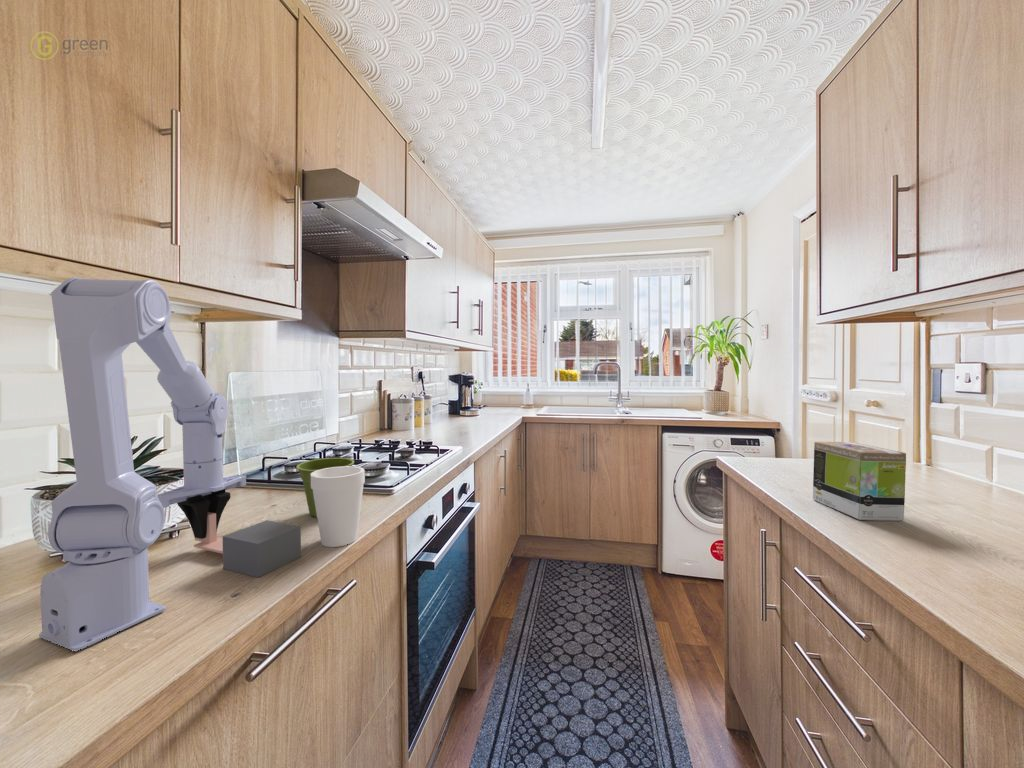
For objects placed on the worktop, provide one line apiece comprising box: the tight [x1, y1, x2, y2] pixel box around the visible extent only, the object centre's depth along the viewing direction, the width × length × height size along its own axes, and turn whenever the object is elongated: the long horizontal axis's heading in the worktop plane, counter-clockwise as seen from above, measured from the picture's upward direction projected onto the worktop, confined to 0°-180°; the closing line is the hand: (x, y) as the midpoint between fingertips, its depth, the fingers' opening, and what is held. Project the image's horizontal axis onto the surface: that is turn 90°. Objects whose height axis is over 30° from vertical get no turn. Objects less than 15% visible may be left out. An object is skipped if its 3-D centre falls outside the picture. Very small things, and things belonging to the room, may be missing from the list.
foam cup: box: [311, 465, 366, 548], centre depth 81 cm, size 10×9×13 cm
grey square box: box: [221, 519, 302, 578], centre depth 72 cm, size 8×8×5 cm
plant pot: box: [296, 457, 355, 518], centre depth 97 cm, size 12×12×11 cm
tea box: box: [812, 441, 907, 522], centre depth 99 cm, size 15×10×15 cm
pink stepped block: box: [193, 512, 223, 555], centre depth 76 cm, size 4×10×5 cm, turn 69°
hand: (205, 535), depth 77 cm, fingers closed on pink stepped block
